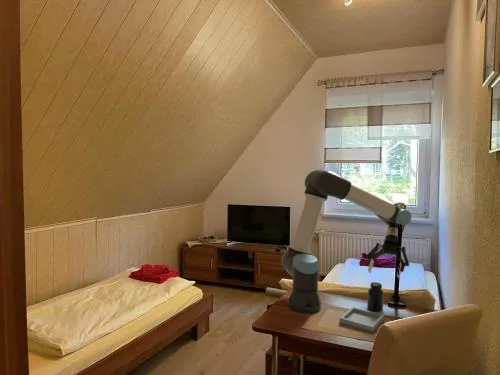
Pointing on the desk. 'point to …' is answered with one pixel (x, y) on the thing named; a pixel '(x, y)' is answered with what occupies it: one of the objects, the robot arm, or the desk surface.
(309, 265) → the robot arm
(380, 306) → the supplement bottle
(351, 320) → the tray
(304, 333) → the desk surface
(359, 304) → the desk surface
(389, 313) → the desk surface
